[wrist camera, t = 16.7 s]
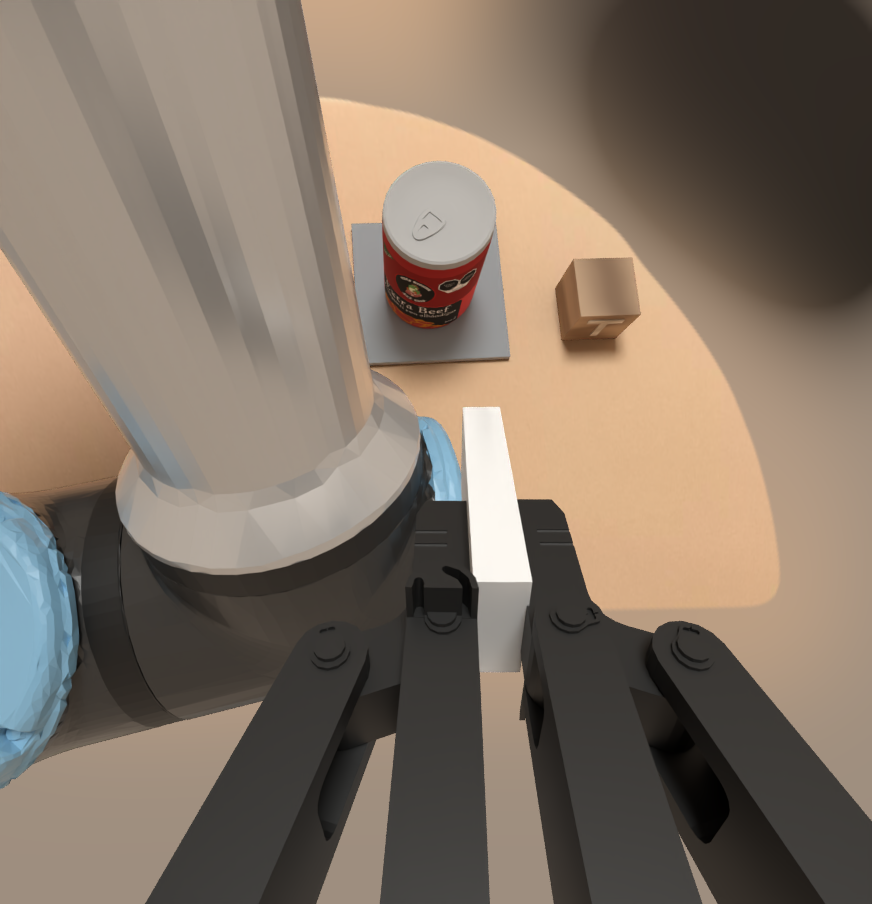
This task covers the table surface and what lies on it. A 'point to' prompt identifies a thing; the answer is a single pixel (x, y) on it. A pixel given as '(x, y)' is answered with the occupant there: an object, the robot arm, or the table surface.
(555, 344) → the table surface
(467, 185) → the canned food
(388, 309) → the mat
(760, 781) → the robot arm
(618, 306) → the letter cube
